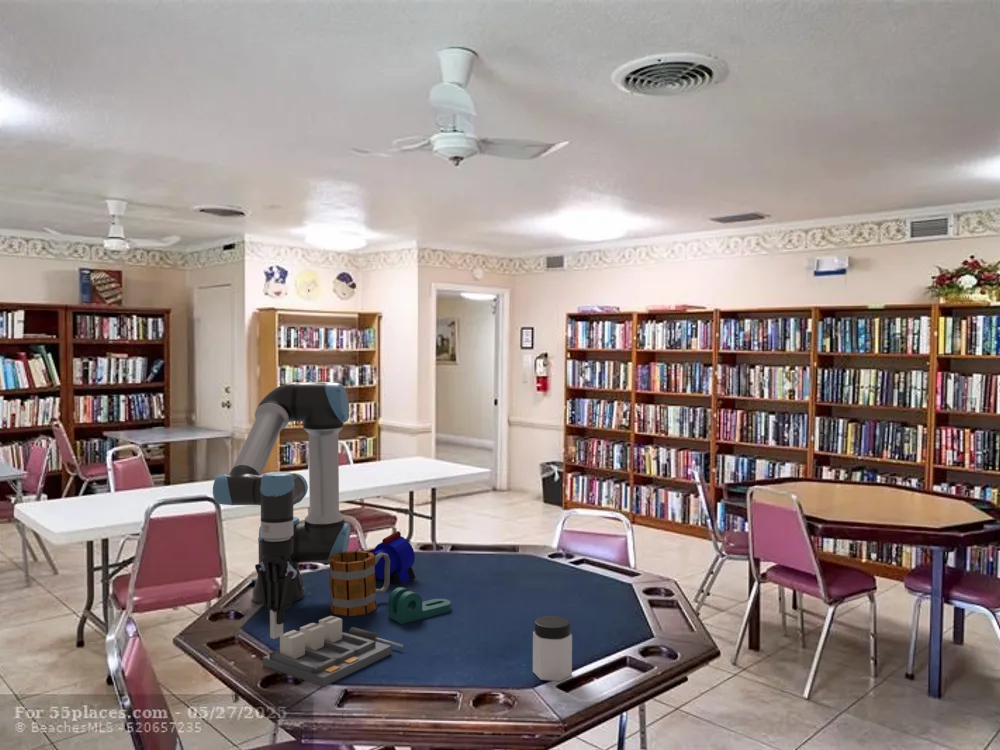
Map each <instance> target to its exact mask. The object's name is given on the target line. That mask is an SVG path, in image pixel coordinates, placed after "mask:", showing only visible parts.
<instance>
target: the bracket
mask: <svg viewBox="0 0 1000 750" xmlns="http://www.w3.org/2000/svg"><path fill="white" fill-rule="evenodd" d="M451 603H452V602H451V600H449V599H446V598H433V599H430V600H429V599H428V600H424V601H423V599H422V596H421V595H420V594H419V593H416V592H414V591H411V590H410V589H407V588H405V587H401V586H400V587H399V586H398V587H396V588H394V590H392V591H391V592H390V595H389V597H388V614H387V615H388V618H389V619H391V620H393V621H395V622H397V623H399V624H401V625H403V624H407V623H410V622H414V621H418V620H422V619H426V618H430V617H434V616H437V615H438V616H439V615H442V614H446V613H449V612H450V611H451V608H452V607H451V605H452V604H451Z"/></svg>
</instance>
